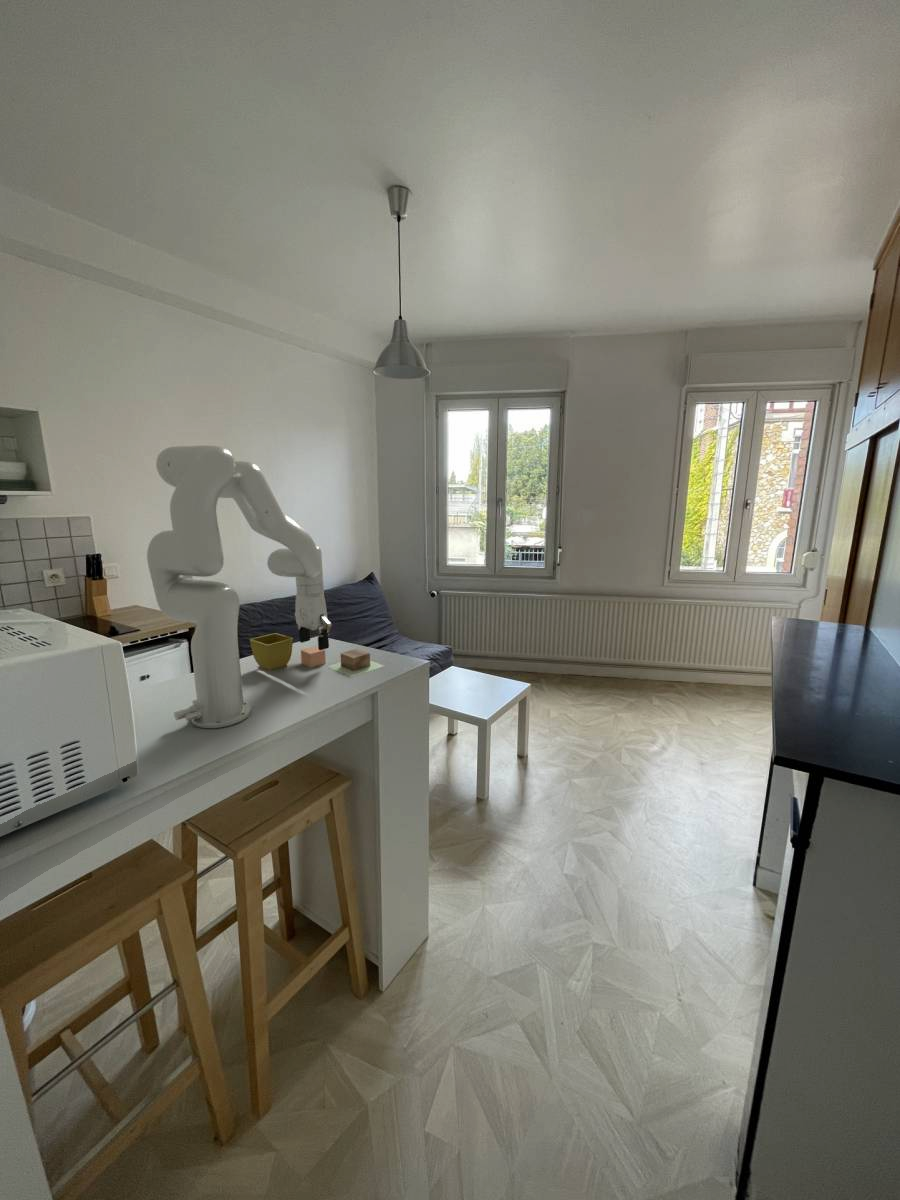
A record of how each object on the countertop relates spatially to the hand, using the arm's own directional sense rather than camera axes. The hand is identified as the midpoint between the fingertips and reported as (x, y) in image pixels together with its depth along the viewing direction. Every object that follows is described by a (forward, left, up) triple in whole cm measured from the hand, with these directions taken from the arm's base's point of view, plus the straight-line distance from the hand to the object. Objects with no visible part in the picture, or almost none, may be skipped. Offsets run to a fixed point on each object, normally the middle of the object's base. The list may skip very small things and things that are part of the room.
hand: (314, 645), depth 145 cm
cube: (-1, 0, -6) cm, 6 cm away
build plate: (+6, -11, -6) cm, 14 cm away
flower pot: (-10, +7, -6) cm, 13 cm away
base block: (+6, -11, -5) cm, 14 cm away
